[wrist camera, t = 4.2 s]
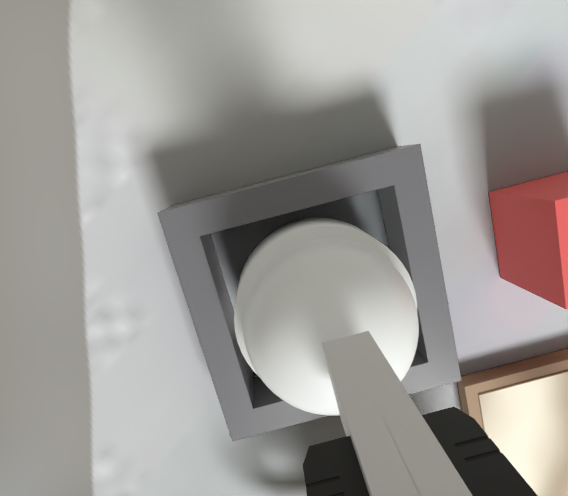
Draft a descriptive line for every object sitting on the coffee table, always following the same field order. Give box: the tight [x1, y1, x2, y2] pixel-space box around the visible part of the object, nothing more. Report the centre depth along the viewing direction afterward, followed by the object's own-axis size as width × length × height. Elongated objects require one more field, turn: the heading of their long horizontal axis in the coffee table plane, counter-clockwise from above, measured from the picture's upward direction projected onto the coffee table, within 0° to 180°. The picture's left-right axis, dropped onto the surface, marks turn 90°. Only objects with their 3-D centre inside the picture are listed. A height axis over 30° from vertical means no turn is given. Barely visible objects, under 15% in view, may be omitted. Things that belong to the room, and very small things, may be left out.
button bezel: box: [158, 144, 461, 441], centre depth 21 cm, size 12×12×3 cm
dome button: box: [234, 217, 419, 416], centre depth 17 cm, size 8×8×7 cm
